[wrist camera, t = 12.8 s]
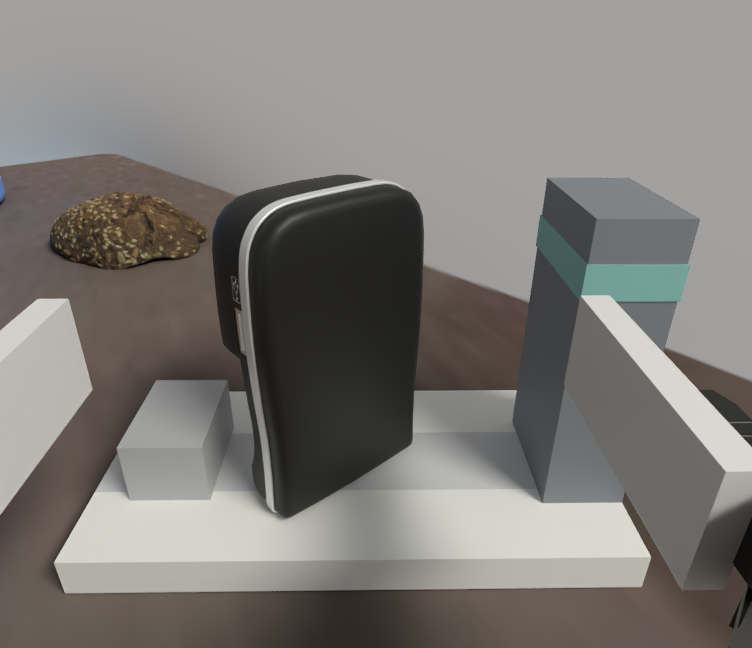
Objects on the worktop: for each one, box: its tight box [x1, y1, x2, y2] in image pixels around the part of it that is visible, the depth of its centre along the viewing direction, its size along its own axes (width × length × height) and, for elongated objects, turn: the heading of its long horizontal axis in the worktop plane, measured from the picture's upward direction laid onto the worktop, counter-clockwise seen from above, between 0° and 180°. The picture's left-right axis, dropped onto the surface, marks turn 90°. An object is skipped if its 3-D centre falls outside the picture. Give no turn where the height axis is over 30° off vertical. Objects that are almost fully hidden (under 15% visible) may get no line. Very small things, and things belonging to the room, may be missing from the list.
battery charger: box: [212, 175, 424, 518], centre depth 21 cm, size 7×4×11 cm, turn 132°
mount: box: [54, 178, 700, 593], centre depth 21 cm, size 10×20×12 cm, turn 91°
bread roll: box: [50, 192, 208, 270], centre depth 50 cm, size 13×12×5 cm
